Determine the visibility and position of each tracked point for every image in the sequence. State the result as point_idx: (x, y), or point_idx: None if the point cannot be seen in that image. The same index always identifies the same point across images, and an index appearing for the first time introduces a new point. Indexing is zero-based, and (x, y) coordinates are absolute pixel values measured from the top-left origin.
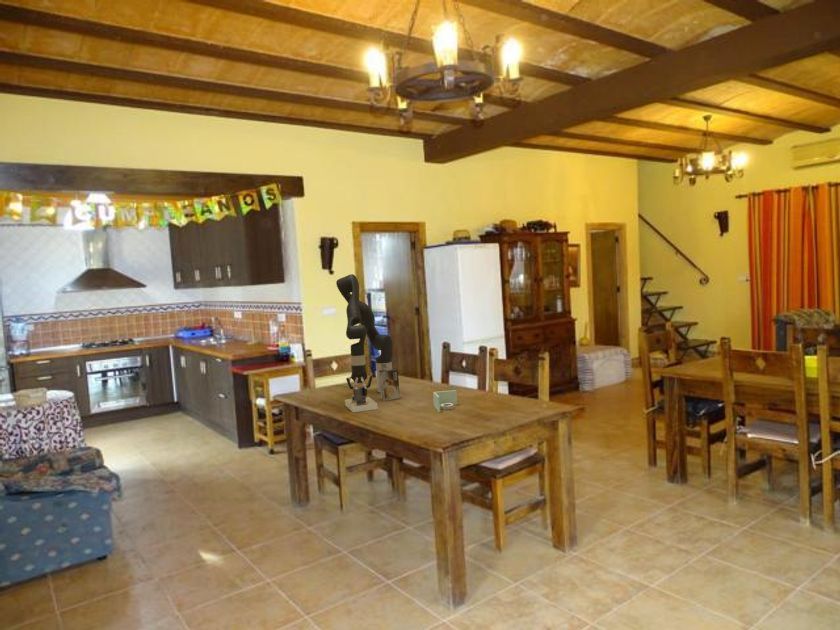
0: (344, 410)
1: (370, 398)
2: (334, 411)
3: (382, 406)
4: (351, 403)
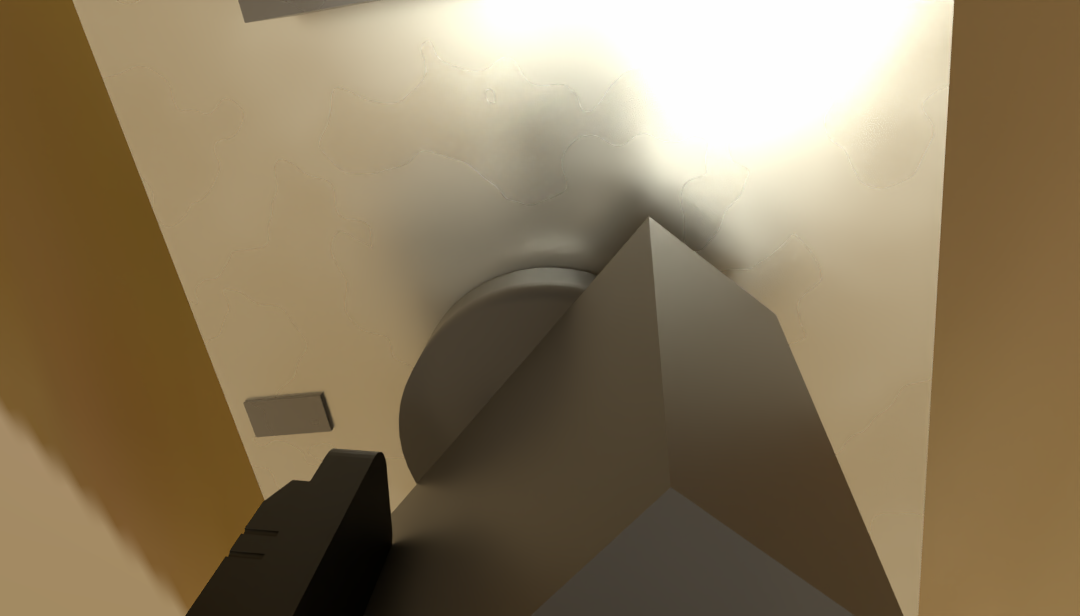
0: (206, 401)
1: (936, 63)
2: (17, 391)
3: (1058, 428)
4: (301, 446)
